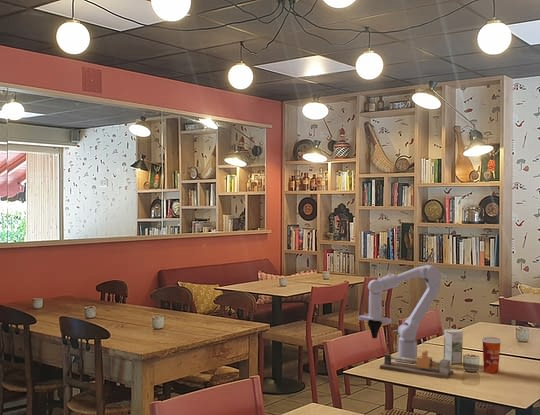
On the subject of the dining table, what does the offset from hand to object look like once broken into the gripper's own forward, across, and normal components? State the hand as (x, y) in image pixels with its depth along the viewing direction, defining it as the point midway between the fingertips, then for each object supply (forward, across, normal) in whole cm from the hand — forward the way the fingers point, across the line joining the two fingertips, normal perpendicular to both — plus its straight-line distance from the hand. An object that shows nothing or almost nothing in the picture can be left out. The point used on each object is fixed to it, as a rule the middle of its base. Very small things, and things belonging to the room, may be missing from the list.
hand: (374, 337), depth 287 cm
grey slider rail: (+10, +22, -8) cm, 25 cm away
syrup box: (+10, +30, +17) cm, 36 cm away
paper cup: (+10, +48, +10) cm, 50 cm away
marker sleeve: (+8, +25, -8) cm, 28 cm away
